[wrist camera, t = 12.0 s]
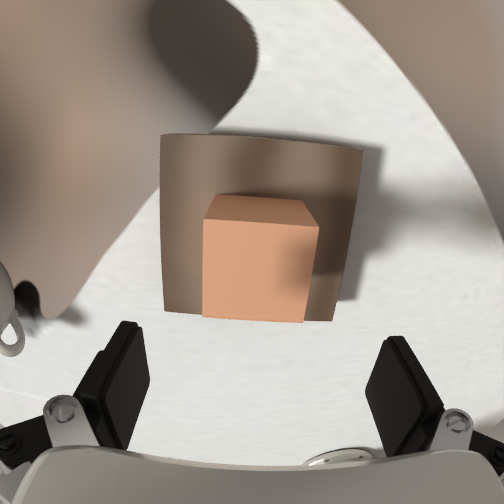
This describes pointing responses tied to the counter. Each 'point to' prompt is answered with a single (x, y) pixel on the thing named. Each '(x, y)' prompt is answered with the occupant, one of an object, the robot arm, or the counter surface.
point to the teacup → (9, 315)
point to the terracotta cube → (257, 258)
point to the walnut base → (256, 185)
